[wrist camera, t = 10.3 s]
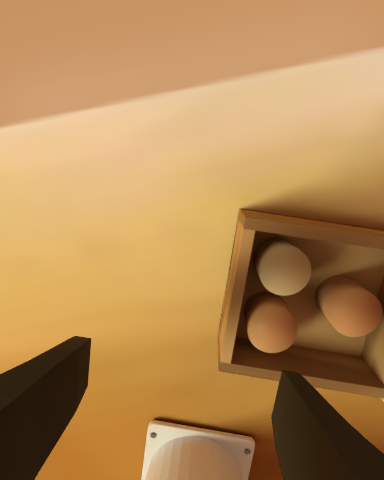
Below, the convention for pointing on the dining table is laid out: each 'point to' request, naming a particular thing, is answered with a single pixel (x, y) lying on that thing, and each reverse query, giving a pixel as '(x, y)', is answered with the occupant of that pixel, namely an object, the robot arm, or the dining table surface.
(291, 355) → the crate
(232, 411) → the dining table surface
